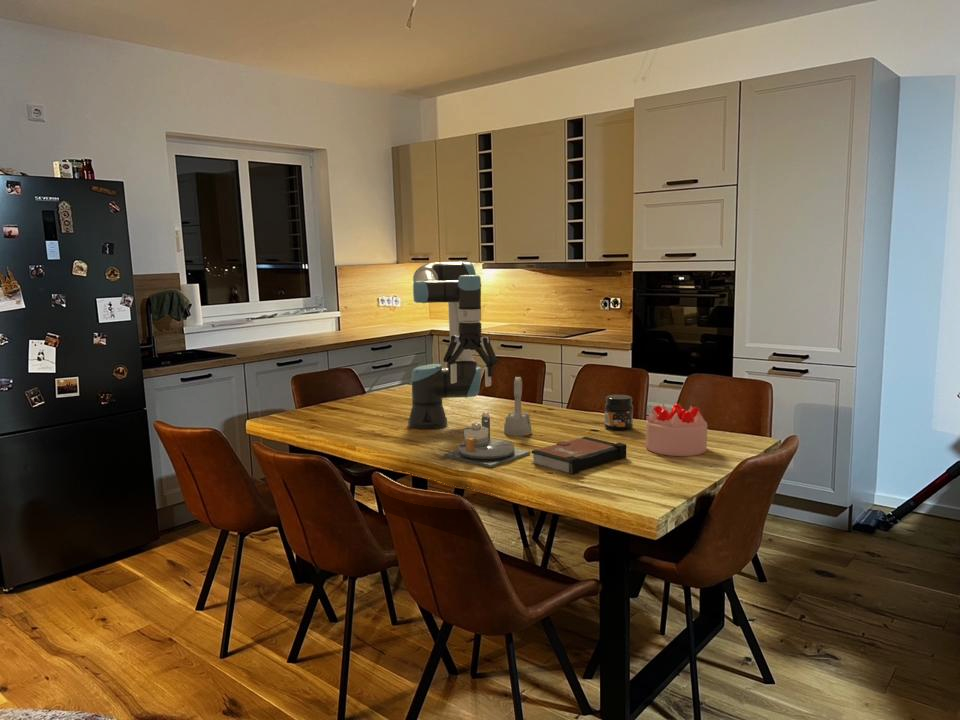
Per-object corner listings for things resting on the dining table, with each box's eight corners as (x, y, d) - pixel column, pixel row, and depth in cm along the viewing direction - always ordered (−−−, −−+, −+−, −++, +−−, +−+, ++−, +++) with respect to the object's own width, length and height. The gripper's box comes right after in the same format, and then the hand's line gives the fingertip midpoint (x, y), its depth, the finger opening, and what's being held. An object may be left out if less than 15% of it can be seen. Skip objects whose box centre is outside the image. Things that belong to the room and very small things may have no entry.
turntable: (483, 442, 249) (483, 424, 248) (525, 450, 238) (525, 432, 237) (447, 452, 236) (447, 434, 235) (490, 462, 224) (490, 443, 223)
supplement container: (600, 429, 271) (600, 398, 269) (609, 424, 280) (609, 393, 278) (628, 432, 266) (628, 400, 264) (636, 426, 275) (636, 395, 273)
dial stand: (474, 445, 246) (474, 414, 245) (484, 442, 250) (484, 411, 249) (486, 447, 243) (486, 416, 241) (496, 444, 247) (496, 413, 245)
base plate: (443, 456, 236) (443, 454, 236) (483, 444, 251) (483, 441, 251) (490, 468, 223) (490, 464, 223) (529, 454, 238) (529, 451, 238)
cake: (633, 447, 245) (634, 406, 243) (672, 438, 257) (673, 399, 255) (680, 460, 229) (681, 416, 227) (719, 450, 241) (721, 408, 239)
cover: (459, 444, 239) (458, 424, 238) (475, 439, 245) (474, 420, 244) (477, 448, 234) (477, 428, 233) (493, 443, 240) (493, 423, 239)
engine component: (502, 435, 264) (529, 436, 262) (501, 379, 262) (529, 380, 260) (507, 428, 275) (533, 429, 273) (506, 374, 272) (533, 375, 270)
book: (584, 449, 246) (584, 434, 245) (626, 459, 233) (626, 444, 232) (529, 464, 228) (529, 448, 228) (572, 476, 215) (572, 460, 215)
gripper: (432, 321, 245) (433, 383, 248) (497, 324, 233) (497, 389, 236) (444, 319, 252) (445, 379, 255) (508, 322, 239) (508, 385, 242)
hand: (470, 384), depth 245 cm, fingers open, 13 cm apart
